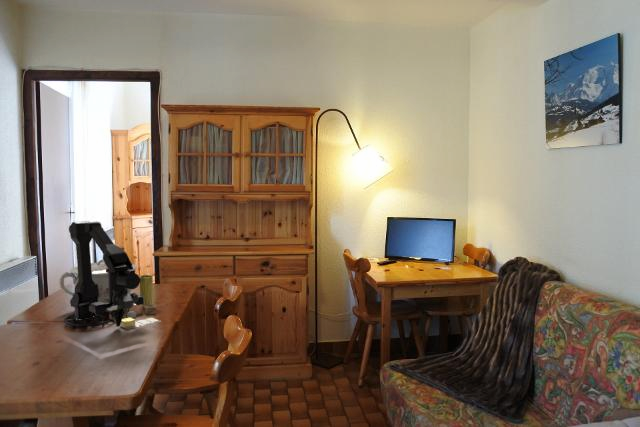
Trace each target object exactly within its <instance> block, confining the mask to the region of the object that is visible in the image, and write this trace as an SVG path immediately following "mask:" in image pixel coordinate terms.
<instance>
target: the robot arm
mask: <svg viewBox="0 0 640 427" xmlns="http://www.w3.org/2000/svg"><path fill="white" fill-rule="evenodd" d="M68 232H69V234H70V239H71V240H72V241H73V242H74V244H75V252H76V264H77V265H76V267H78V283H77V285H76V286H75V289H74V293H75V294H74V295H73V296H71V299H70V300H69V304H70V307H72V308H74V319H75V318H77V319H85V318H90V317H93V316H95V317H96V314H97V315H98V314H102V313H106V312H108V313H110V315H111V317H112V318H113V320H112V321H113V322H114V324H115V326H116V328H117V327H118V328H119V327H120V324H121V321H122V318H123V315H124V313H126V312H127V311H129V309H130V308H132V307H133V303H135V304H136V305H142V304H144V298H143V297H142V296H140V294H138V292H132V293H131V294H128V292H127V288H128V289H133V290H135V289H137V288H138V287H140V276H139V275H138V274H137V273H136V269H135V270H132V269H133V267H132V264H133V263H132V262H131V260H130V258H129V256H128V254H127V252H126V251H125V250H124V249H123V248H122V247H120V246H118V245H116V244H115V243H114V242H113V240H112V239H111V238H110V236H109V234H108V233H106V230H105V229H104V228H103V227H102V223H101V222H100V221H89V220H83V221H73V222H72V223H70V224H69V226H68ZM92 240H93V241H94V242H95V244H96V245H97V247H98V248H99V249H100V251H101V253H102V260H104V262H105V265H106V266H107V267H108V269H106V270H105V272H108V281H109V287H108V288H107V291H109V298H108V299H107V301H108V302H109V303H102V302H98V296H99V291H98V284H95V282H94V281H93V280H92V270H91V263H92V258H91V246H90V245H91V244H90V243H91V241H92ZM125 265H126V266H125ZM121 266H123V267H121ZM116 267H117V268H116ZM113 304H114V305H113ZM90 319H91V318H90Z"/></svg>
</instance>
